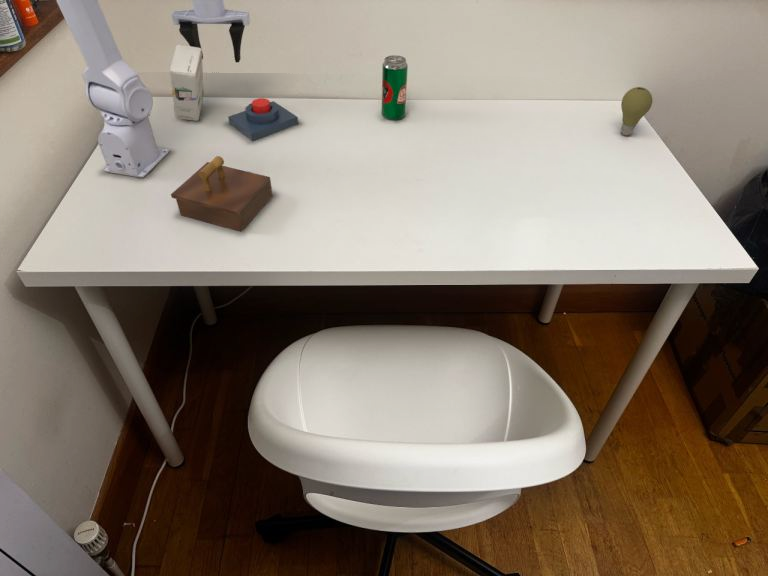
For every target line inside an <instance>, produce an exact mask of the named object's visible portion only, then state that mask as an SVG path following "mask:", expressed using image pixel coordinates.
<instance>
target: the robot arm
mask: <svg viewBox="0 0 768 576" xmlns="http://www.w3.org/2000/svg"><path fill="white" fill-rule="evenodd" d="M191 1H192V6H193V9H185V10H173V12H172V13H171V18H172V24H173V26H179V28H178V31H179V33H180V35H181V36H182V37H183V39H184V40H185V41H186V42H187V44H188V46H191V47H198V48H201V49H202V45H201V41H200V35H199V27H198V25H230V26H229V29H228V33H229V36H230V39H231V43H232V49H233V55H234V56H233V57H234V62H235V63H240V61H241V49H242V48H241V47H242V42H243V41H242V40H243V35H244V31H245V28H246V26H250V23H251V18H250V12H249V11H242V10H241V11H240V10H235V9H227V8H225V7H226V6H225V2H224V0H191ZM55 2H56V4H57V5H58V8H59V9H60V12H61V14H62V16H63V17H64V20H65V22H66V24H67V26H68V28H69V30H70V32H71V35H72V36H73V38H74V41H75V43H76V45H77V46H78V49H79V51H80V53H81V55H82V57H83V59H84V61H85V64H86V66H87V67H86V68H85V69H84V70H83V71H82V73H81V77H82V80H83V81H84V85H85V94H86V98H87V101H88V102H89V104H90V105H91V106H92V107H93V108H95V109H96V110H98V111H99V113H100V116H101V117H102V118H103V120H104V125H103V128H102V130H101V132H100V133H99V135H98V137H97V143H98V146H99V148H100V151H101V154H102V157H103V160H104V162H105V164H106V166H105V168H104V172H106V173H111V174H118V175H123V176H130V177H135V178H141V179H142V178H145V177H146V176H147V175H148V174H149V173H150V172H151V171H152V170H153V169H154V168H156V166H157V165H158V164H159V163H160V162H161V161H162V160H163V159H164V158H165V157H166V156H167V155H168V154H169V153H170V150H169V149H168V148H163V147H158V145H157V141H156V138H155V134H154V131H153V128H152V123H151V121H150V116H151V111H152V109H153V105H154V103H153V102H154V99H153V95H152V92H151V90H150V88H148V86H147V85H145V84H144V82H142V79H141V78H140V75H139V73H137V72H136V70H135V69H133V68H132V66H130V65H129V64H128V63H127V62H126V61H125V60H124V59H123V56H122V55H121V52H120V50H119V48H118V45H117V42H116V41H115V38H114V35H113V34H112V31H111V29H110V26H109V24H108V21H107V20H106V16H105V14H104V12H103V10H102V8H101V5H100V2H99V0H55ZM203 59H204V53H203V52H202V61H204V60H203Z"/></svg>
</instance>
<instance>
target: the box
mask: <svg viewBox="0 0 768 576" xmlns="http://www.w3.org/2000/svg"><path fill="white" fill-rule="evenodd" d="M270 107H271V111H270V112H267V113H260V114H259V113H254V112H253V108H252V102H251V103H249V104H247V106H246V107H244V110H243V111H240V112H238V113H235V114H234V113H233V114H232V115H229V116H227V119H228V123H229V125H230V126H231V127H233V129H235V130H237V131H238V133H240V134H242V135H243V136H245V137H246V138H247V139H248V140H250V141H251V142H255V141H257V140H260V139H263V138H265V137H268V136H270V135H274V134H276V133H279V132H281V131H283V130H287V129H289V128H292V127H295V126H297V125H299V118H298V116H297V115H296V114H294V113H293V112H291V111H289V110H288V109H287V108H285V107H283V106H282V105H280V104H279V103H277V102H276V101H274V100H273V101H270Z"/></svg>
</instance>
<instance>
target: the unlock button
mask: <svg viewBox="0 0 768 576" xmlns="http://www.w3.org/2000/svg"><path fill="white" fill-rule="evenodd" d="M270 102H271V100H270V99H268V98H265V97H261V98H260V97H259V98H256V99H253V100H252V101H251V103H252V108H253V112H254V113H259V114H260V113H267V112H270V111H271V107H270Z"/></svg>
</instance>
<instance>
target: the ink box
mask: <svg viewBox="0 0 768 576" xmlns="http://www.w3.org/2000/svg"><path fill="white" fill-rule="evenodd" d="M174 50H175V51H174V53H173V57H172V62H171V64H170V69H169V76H170V83H171V84H170V85H171V92H172V93H171V94H172V102H173V103H172V104H173V113H174V118H175V119H182V120H189V121H195V122H197V121H200V120H199V119H200V114H201V109H202V105H203V99H204V95H205V94H204V92H205V90H204V71H203V60H202V53H203V49H202V47H201V48H198V47H191V46H190V45H185V44H176V47H175V49H174Z"/></svg>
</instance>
